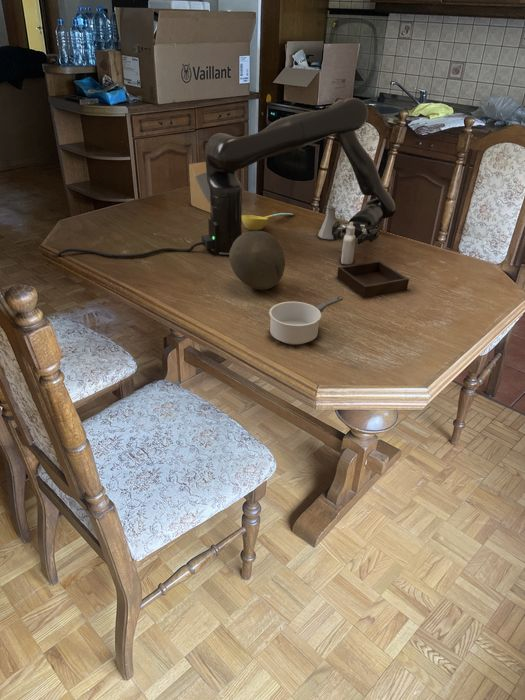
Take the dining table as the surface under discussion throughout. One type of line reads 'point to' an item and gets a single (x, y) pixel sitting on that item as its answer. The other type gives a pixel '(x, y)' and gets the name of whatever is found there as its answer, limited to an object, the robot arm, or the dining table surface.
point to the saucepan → (297, 321)
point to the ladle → (257, 221)
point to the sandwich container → (199, 186)
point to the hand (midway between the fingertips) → (346, 239)
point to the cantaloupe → (257, 259)
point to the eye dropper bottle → (348, 245)
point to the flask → (328, 223)
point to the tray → (372, 279)
